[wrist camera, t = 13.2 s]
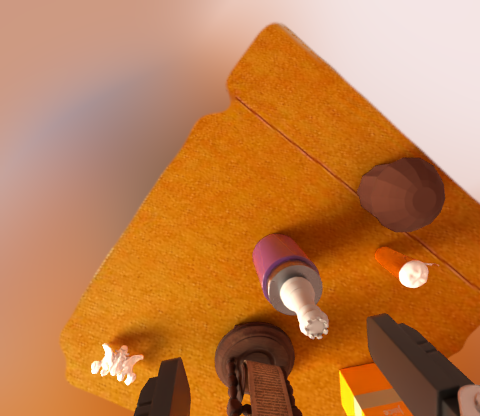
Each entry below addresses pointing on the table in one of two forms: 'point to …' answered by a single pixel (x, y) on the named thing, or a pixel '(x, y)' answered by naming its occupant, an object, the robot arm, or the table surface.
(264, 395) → the scroll
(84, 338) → the table surface
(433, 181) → the muffin
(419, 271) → the milkshake
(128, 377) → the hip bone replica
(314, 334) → the rook chess piece
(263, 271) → the jar
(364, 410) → the orange juice
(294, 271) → the jar lid
